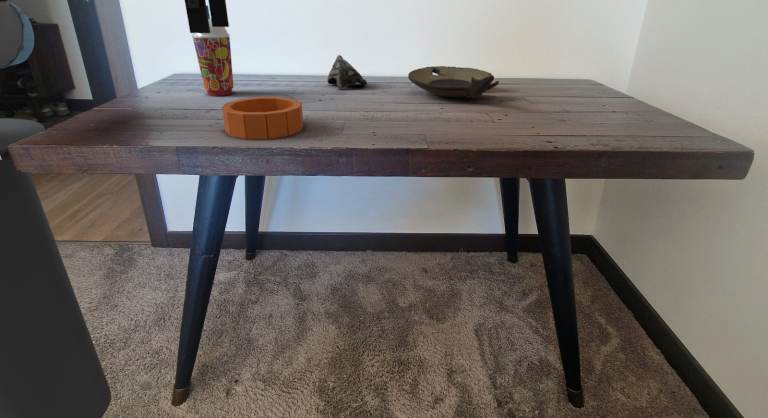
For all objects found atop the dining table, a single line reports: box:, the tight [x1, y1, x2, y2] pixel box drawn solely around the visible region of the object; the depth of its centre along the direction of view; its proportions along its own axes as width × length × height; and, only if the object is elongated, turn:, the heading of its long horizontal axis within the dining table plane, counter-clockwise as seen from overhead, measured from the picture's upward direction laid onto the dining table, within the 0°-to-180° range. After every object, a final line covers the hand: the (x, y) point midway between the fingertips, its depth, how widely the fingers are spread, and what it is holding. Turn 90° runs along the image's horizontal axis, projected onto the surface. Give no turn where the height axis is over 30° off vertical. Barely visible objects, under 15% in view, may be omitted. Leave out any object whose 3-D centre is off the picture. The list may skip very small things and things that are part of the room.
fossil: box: [326, 54, 368, 90], centre depth 118 cm, size 11×9×10 cm
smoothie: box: [191, 5, 234, 97], centre depth 105 cm, size 8×8×20 cm
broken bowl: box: [407, 65, 500, 99], centre depth 108 cm, size 22×30×8 cm
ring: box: [221, 96, 304, 140], centre depth 81 cm, size 14×14×4 cm
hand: (211, 29), depth 71 cm, fingers open, 13 cm apart
